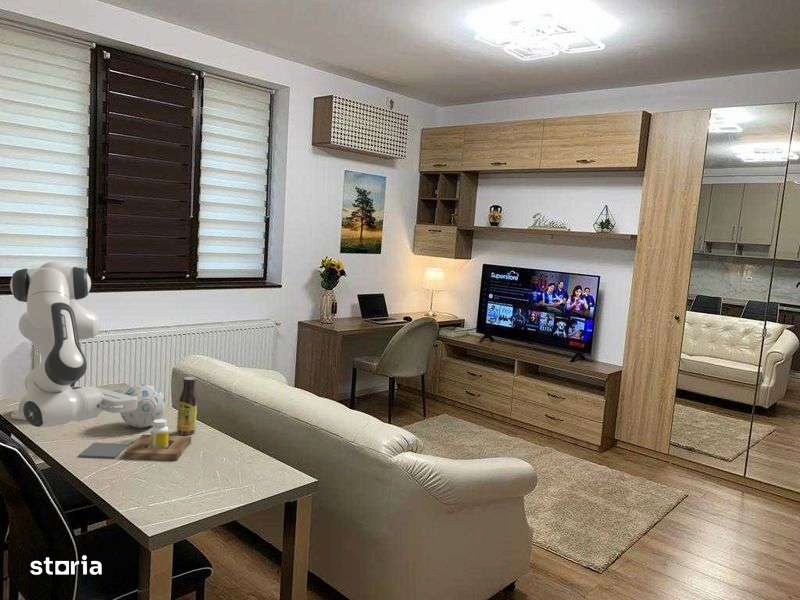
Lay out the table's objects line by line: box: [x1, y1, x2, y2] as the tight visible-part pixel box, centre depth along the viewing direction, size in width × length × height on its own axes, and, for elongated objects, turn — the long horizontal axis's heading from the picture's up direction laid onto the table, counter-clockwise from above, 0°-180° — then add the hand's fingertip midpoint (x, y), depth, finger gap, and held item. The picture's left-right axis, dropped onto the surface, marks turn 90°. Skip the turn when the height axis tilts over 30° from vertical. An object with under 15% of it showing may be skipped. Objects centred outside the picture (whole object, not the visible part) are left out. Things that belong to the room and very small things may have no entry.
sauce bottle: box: [176, 376, 198, 436], centre depth 213 cm, size 7×6×20 cm
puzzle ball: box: [119, 384, 166, 429], centre depth 217 cm, size 15×15×15 cm
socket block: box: [123, 434, 192, 461], centre depth 197 cm, size 16×16×2 cm
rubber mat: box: [78, 442, 130, 459], centre depth 193 cm, size 11×11×1 cm
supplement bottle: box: [149, 418, 170, 449], centre depth 197 cm, size 5×5×10 cm
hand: (129, 394), depth 185 cm, fingers open, 8 cm apart
